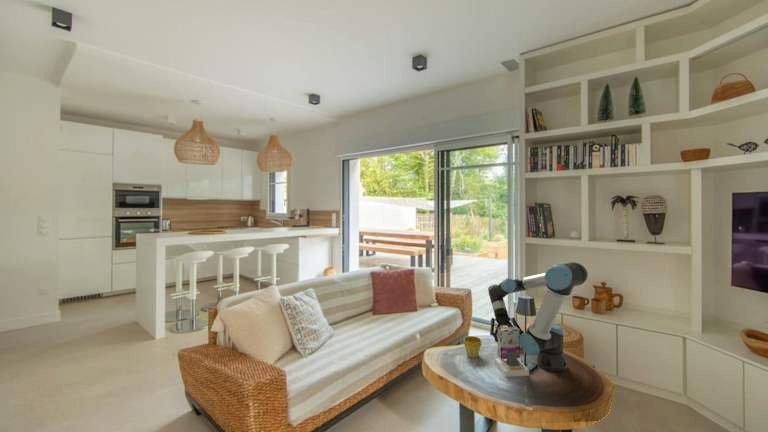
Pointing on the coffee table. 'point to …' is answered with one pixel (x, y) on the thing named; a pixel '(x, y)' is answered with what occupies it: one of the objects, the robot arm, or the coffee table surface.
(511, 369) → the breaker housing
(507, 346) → the candy bar box
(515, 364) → the block
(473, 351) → the plant pot
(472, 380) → the coffee table surface
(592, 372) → the coffee table surface
